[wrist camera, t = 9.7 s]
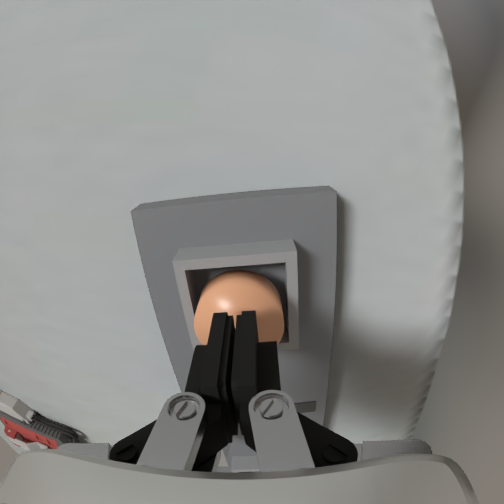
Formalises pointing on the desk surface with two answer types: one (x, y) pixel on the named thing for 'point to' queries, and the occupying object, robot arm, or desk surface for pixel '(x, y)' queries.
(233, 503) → the robot arm
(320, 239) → the panel
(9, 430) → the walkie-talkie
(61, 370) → the desk surface
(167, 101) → the desk surface
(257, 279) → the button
